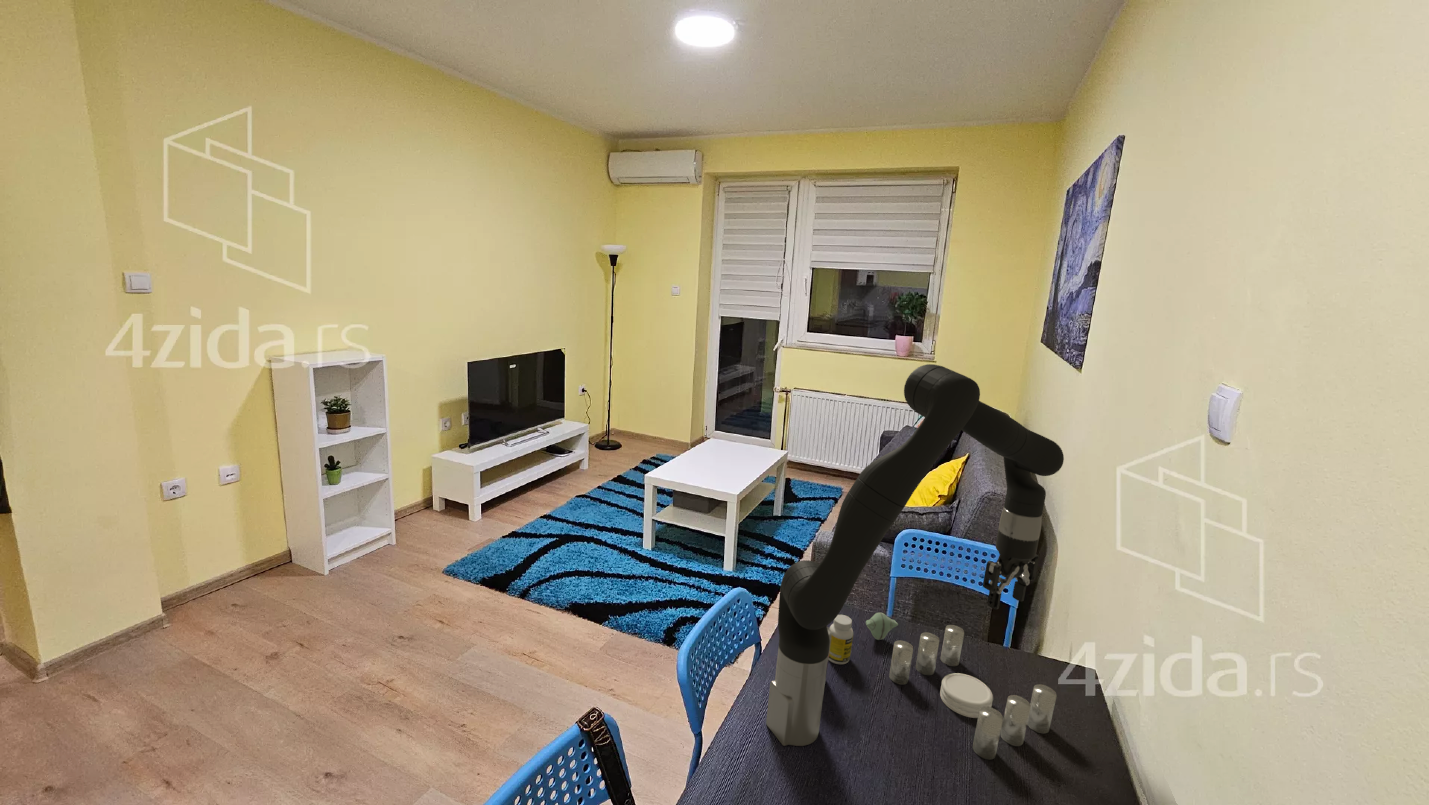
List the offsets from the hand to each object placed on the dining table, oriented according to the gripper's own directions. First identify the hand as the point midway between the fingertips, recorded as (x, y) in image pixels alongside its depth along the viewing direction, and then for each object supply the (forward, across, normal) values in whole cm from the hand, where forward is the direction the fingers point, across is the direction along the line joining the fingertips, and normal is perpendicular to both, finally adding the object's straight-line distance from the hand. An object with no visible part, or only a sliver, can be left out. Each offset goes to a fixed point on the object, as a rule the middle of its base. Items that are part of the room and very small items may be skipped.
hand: (1005, 603), depth 125 cm
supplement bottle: (+20, -24, +22) cm, 38 cm away
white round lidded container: (+21, -9, -1) cm, 23 cm away
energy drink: (+20, -35, +18) cm, 44 cm away
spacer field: (+20, -9, -1) cm, 22 cm away
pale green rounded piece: (+20, -10, +23) cm, 33 cm away
